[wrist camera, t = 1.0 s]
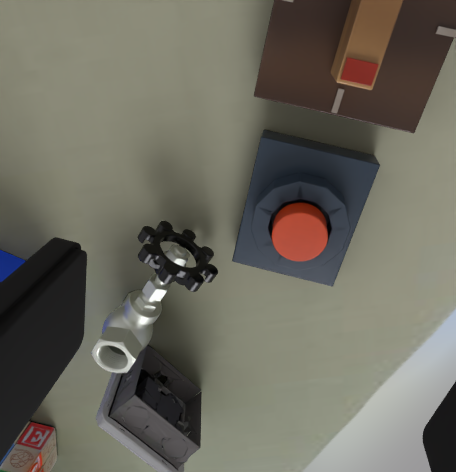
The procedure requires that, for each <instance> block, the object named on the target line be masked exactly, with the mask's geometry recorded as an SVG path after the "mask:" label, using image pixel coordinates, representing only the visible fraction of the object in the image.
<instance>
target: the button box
mask: <svg viewBox="0 0 456 472" xmlns="http://www.w3.org/2000/svg"><path fill="white" fill-rule="evenodd" d="M379 166H380V164H379V162H378V160H377V159H376V157H375V156H374V155H371V154H366V153H362V152H358V151H353V150H349V149H345V148H341V147H336V146H332V145H328V144H324V143H319V142H315V141H311V140H307V139H302V138H298V137H294V136H289V135H285V134H281V133H277V132H272V131H268V130H264V131H263V133H262V136H261V140H260V144H259V148H258V153H257V157H256V161H255V165H254V170H253V174H252V178H251V183H250V187H249V191H248V195H247V200H246V204H245V208H244V213H243V217H242V221H241V225H240V230H239V234H238V238H237V242H236V247H235V251H234V255H233V260H232V261H233V262H237V263H241V264H245V265H249V266H253V267H257V268H261V269H265V270H269V271H273V272H277V273H281V274H285V275H289V276H293V277H297V278H301V279H304V280H308V281H312V282H316V283H320V284H324V285H328V286H333V284H334V282H335V279H336V277H337V274H338V272H339V269H340V266H341V264H342V261H343V259H344V256H345V254H346V251H347V249H348V246H349V243H350V241H351V238H352V236H353V233H354V231H355V228H356V225H357V223H358V220H359V218H360V215H361V213H362V210H363V207H364V205H365V202H366V200H367V197H368V195H369V192H370V190H371V187H372V184H373V182H374V179H375V177H376V174H377V172H378V169H379ZM299 202H300V203H308V204H311V205H313V206H315V207H316V208H318V209H319V210H320V211H321V212H322V214H323V215H324V217H325V219H326V224H327V231H328V241H327V245H326V247H325V248H324V250H323V251H322V252H321V253H320V254H319V255H318V256H317V257H315V258H313V259H311V260H307V261H292V260H289V259H287V258H285V257H283V256H282V255H280V254H279V253H278V252H277V250H276V249H275V247H274V245H273V242H272V229H273V223H274V219H275V217H276V215H277V213H278V212H279V211H280V210H281V209H282V208H284V207H285V206H287V205H289V204H292V203H299Z"/></svg>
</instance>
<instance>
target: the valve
mask: <svg viewBox="0 0 456 472" xmlns="http://www.w3.org/2000/svg"><path fill="white" fill-rule="evenodd" d="M172 229H173V227H172V225H171V224H170V223H169V222H166V221H161V222H160V223H159V225H158V227H157V228H156V230H154V229H153V228H152V227H150V226H144V227H143V228H142V230H141V232H140V233H139V235H138V240H139V241H140V242H141V243H143V242H144V240H148V241H149V242H151V244H144V245H143V247H142V249H141V250H140V252H139V254H138V258H139V260H140V261H142V262H143V263H146V264H149V266H150V267H152V268H155V272H156V274H152V276H151V277H150V279H149V280H148V282H147V284H146V285H145V287H144V289H143V290H136V291H133V292H129V294H128V295H127V297H126V298H125V300H124V302H123V303H122V305H121V306H120V307H119V308H117V309H115V310H114V311H113V312H111V313H110V314H109V316H108V317H107V319H106V320H105V322H104V325H103V330H102V336H101V337H100V339H99V340H98V342H97V344H96V345H95V347H94V348H93V350H92V352H91V354H92V356H93V358H94V360H95V361H96V362H97V364H98V365H99V366H100V367H101V368H103V369H104V370H106V371H109V372H114V373H127V372H128V371H129V369H130V368H131V366H132V365H133V364H134V362H135V361H136V359H137V357H138V355H139V353H140V352H141V351H142V350H143V349H144V348H145V347H146V346H147V345H148V343H149V342H150V339H151V337H152V333H153V323H154V322H155V321H156V320H157V318H158V317H159V315H160V314H161V312H162V305H161V302H160V301H161V299H162V298H163V296H164V295H165V293H166V292H167V290H168V288H169V286H170V284H171V283H172V282H174V281H176V282H177V283H179V284H181V285H185V287H186V288H187V289H188V290H190V291H192V292H196V291H197V290H198V289H199V288H200V286H201V285H202V284H203V282H204V281H205V282H208V283H210V282H212V281H213V279H214V278H215V277H216V275H217V274H218V270H217V268H216V267H215V266H214V265H212V264H208V263H209V261H210V260H211V258H212V257H213V256H214V252H213V251H212V249H210V248H209V247H206V246H204V247H202V248H200V247H199V246H197V245H196V244H195V243H194V242H193V241H194V239H195V238H196V235H195V234H194V232H192V231H191V230H188V229H185V230H184V231H183V233H182V234H179V233H176V232H174V231H173V230H172ZM163 241H172V242H175V243H178V244H179V245H172V246H171V247H170V249H169V250H168V251H166V252H164V253H163V251H162V249H161V247H160V243H161V242H163ZM185 248H186V249H187V250H189V251H190V252H191V254H192V255H193V256H194V258H195V260H196V267H193V268H188V267H186V262H187V260H188V258H189V256H190V255H189V253H188V252H187V251H186V249H185ZM201 274H204V275H205V276H206V278H205V280H204V278H203V277H202V275H201Z"/></svg>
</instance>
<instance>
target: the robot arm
mask: <svg viewBox="0 0 456 472" xmlns="http://www.w3.org/2000/svg"><path fill="white" fill-rule="evenodd" d="M86 266H87V254H86V252H85V251H83V250H81V246H80V244H79V243H76V242H72V241H68V240H64V239H61V238H53V239H51V240H50V241H49V242H48V243H47V244H46V245H44V246H43V247H42V248H41V249H40V250H39V251H37V252H36V253H35V254H34V255H33V256H31V257H30V258H29V259H28V260H27V261H26V262H24V263H23V264H22V265H21V266H20V267H19V268H17V269H16V270H15V271H14V272H13V273H12V274H10V275H9V276H8V277H7V278H6V279H4V280H3V281H2V282H0V462H1V461H2V459H3V458H4V456H5V455H6V453H7V452H8V450H9V449H10V448H11V446H12V445H13V443H14V442H15V440H16V439H17V437H18V436H19V435H20V433H21V432H22V430H23V429H24V427H25V426H26V424H27V423H28V422H29V420H30V419H31V417H32V416H33V414H34V413H35V411H36V410H37V408H38V407H39V406H40V404H41V403H42V401H43V400H44V398H45V397H46V395H47V394H48V393H49V391H50V390H51V388H52V387H53V385H54V384H55V382H56V381H57V380H58V378H59V377H60V375H61V374H62V372H63V371H64V369H65V368H66V366H67V365H68V364H69V362H70V361H71V359H72V358H73V356H74V355H75V353H76V352H77V351H78V349H79V347H80V345H81V343H82V340H83V336H84V318H85V292H86ZM423 444H424V448H425V451H426V454H427V458H428V461H429V465H430V468H431V472H456V382H455V384H454V385H453V386H452V388H451V389H450V391H449V392H448V394H447V395H446V397H445V398H444V400H443V401H442V403H441V404H440V406H439V407H438V408H437V410H436V411H435V413H434V415H433V416H432V417H431V419H430V420H429V422H428V423H427V425H426V426H425V429H424V431H423Z"/></svg>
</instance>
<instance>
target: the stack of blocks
mask: <svg viewBox="0 0 456 472" xmlns="http://www.w3.org/2000/svg"><path fill="white" fill-rule="evenodd" d="M56 460H57V447H56V432H55V428H53V427H49V426H45V425H41V424H37V423H33V422H31V421H29V422H28V423H27V424H26V426H25V427H24V429H23V430H22V432H21V433H20V435H19V436H18V437H17V439H16V440H15V442H14V443H13V445H12V446H11V448H10V449H9V450H8V452H7V453H6V455H5V456H4V458H3V459H2V461H1V462H0V472H50V471H51V469H52V467H53V466H54V464H55V462H56Z"/></svg>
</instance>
